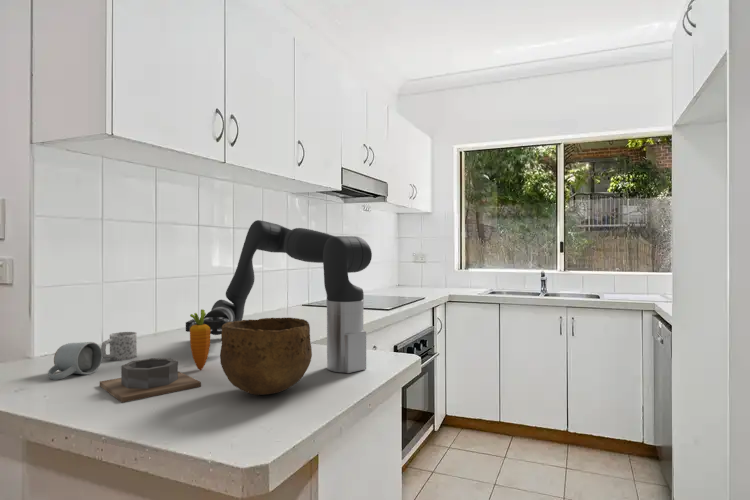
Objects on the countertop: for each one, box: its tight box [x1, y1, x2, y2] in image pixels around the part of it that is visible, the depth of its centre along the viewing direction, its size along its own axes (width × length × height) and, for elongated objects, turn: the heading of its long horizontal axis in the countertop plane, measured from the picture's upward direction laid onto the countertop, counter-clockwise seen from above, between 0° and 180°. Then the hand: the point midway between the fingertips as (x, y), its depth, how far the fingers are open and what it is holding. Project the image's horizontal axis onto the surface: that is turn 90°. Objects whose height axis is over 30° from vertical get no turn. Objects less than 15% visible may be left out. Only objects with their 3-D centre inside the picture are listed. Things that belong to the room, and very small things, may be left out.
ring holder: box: [99, 357, 202, 403], centre depth 107 cm, size 16×16×5 cm
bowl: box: [219, 317, 313, 396], centre depth 102 cm, size 19×19×15 cm
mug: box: [100, 331, 138, 361], centre depth 134 cm, size 10×7×7 cm
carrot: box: [189, 308, 211, 371], centre depth 121 cm, size 5×5×15 cm
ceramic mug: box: [47, 341, 103, 381], centre depth 117 cm, size 11×8×8 cm
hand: (208, 329), depth 131 cm, fingers open, 8 cm apart
